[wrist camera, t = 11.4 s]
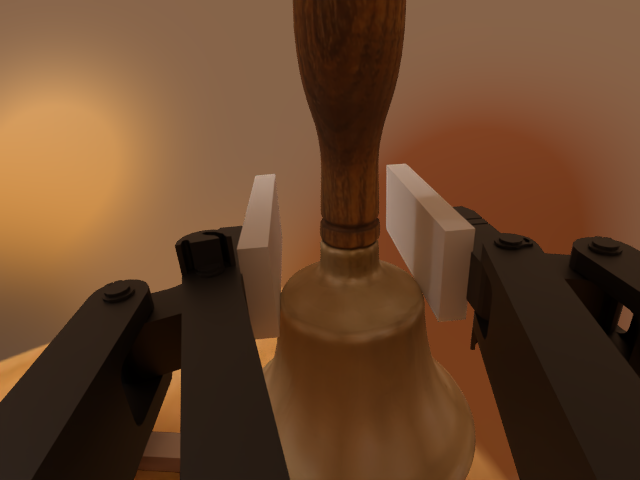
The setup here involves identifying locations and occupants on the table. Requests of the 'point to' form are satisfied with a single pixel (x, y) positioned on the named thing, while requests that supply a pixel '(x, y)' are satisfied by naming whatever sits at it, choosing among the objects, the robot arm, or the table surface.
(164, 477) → the table surface
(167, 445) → the square frame
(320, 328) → the hand bell
